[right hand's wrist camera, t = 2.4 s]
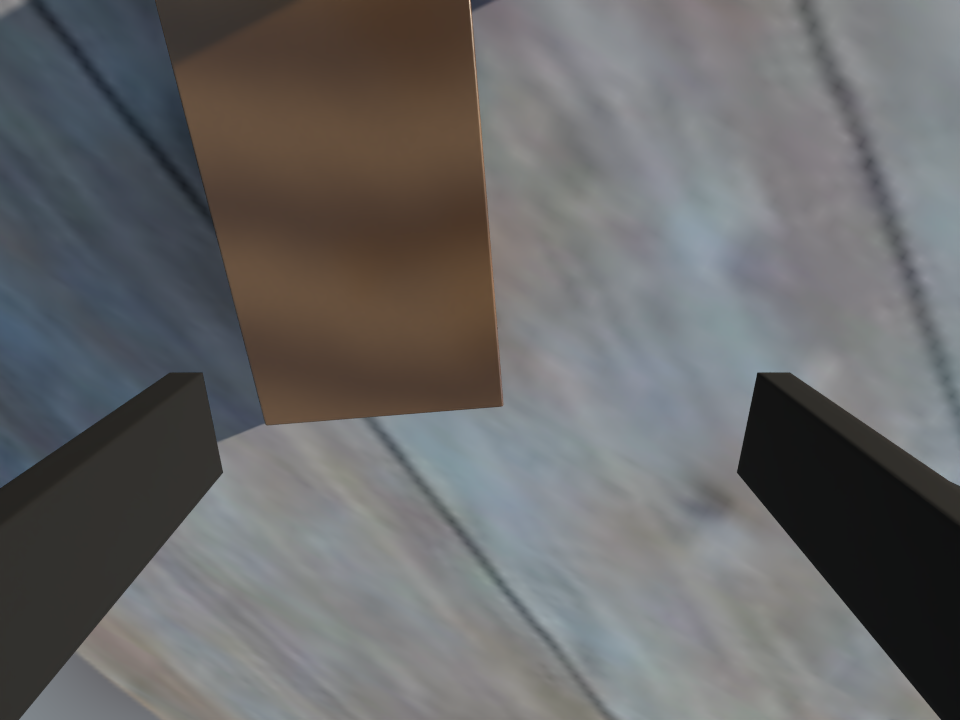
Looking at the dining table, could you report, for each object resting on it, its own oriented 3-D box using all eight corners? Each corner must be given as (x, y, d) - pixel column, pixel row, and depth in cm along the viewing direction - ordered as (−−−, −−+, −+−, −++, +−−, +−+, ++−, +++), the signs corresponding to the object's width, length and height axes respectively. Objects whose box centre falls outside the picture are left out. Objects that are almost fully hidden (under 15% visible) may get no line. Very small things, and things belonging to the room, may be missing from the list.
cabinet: (270, 31, 27) (140, -51, 16) (470, 10, 26) (463, -87, 16) (332, 344, 33) (265, 426, 22) (496, 330, 32) (503, 407, 22)
